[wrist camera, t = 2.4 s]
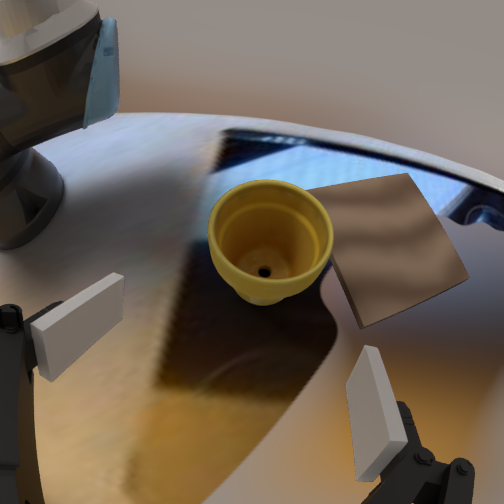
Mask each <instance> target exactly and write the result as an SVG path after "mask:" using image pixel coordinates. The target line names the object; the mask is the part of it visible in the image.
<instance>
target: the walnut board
mask: <svg viewBox="0 0 504 504" xmlns="http://www.w3.org/2000/svg"><path fill="white" fill-rule="evenodd" d="M305 191H307V192H309V193H310V194H311V195H312V196H314V197H315V198H316V199H317V200H318V201H319V202H320V203H321V204H322V205H323V207H324V208H325V210H326V211H327V213H328V215H329V217H330V219H331V222H332V225H333V230H334V244H333V249H332V252H331V255H330V257H329V259H330V261H331V263H332V265H333V268H334V270H335V272H336V274H337V276H338V279H339V281H340V283H341V286H342V288H343V290H344V292H345V295H346V297H347V299H348V302H349V304H350V306H351V309H352V311H353V314H354V316H355V318H356V321H357V323H358V326H359V328H360V329H363V328H365V327H368V326H370V325H373V324H375V323H377V322H380V321H382V320H384V319H387V318H389V317H391V316H394V315H396V314H398V313H400V312H403V311H405V310H407V309H409V308H411V307H414V306H416V305H418V304H420V303H422V302H424V301H426V300H428V299H431V298H432V297H435V296H437V295H439V294H441V293H443V292H445V291H447V290H449V289H450V288H453V287H454V286H456V285H458V284H460V283H462V282H464V281H465V280H467V279H468V278H469V275H468V273H467V271H466V269H465V267H464V265H463V263H462V261H461V259H460V257H459V256H458V254H457V252H456V250H455V248H454V246H453V245H452V243H451V241H450V239H449V237H448V235H447V234H446V232H445V230H444V229H443V227H442V225H441V223H440V222H439V220H438V219H437V217H436V215H435V214H434V212H433V210H432V209H431V207H430V206H429V204H428V202H427V201H426V199H425V198H424V196H423V195H422V193H421V192H420V190H419V189H418V187H417V186H416V184H415V183H414V181H413V180H412V178H411V177H410V176H409V174H408V173H403V174H396V175H390V176H384V177H377V178H371V179H365V180H359V181H354V182H348V183H342V184H336V185H331V186H326V187H320V188H315V189H310V190H305Z"/></svg>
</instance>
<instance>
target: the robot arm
mask: <svg viewBox="0 0 504 504" xmlns="http://www.w3.org/2000/svg"><path fill="white" fill-rule="evenodd" d="M119 102H120V76H119V47H118V30H117V22H116V20H115V19H114V18H104V19H103V20H101V19H100V15H99V10H98V6H97V5H96V4H94V3H92V2H89V1H87V0H0V248H2V249H12V248H16V247H19V246H21V245H23V244H25V243H27V242H28V241H30V240H31V239H32V238H34V237H35V236H36V235H37V234H38V233H39V232H40V231H41V230H42V229H43V228H44V227H45V226H46V225H47V224H48V222H49V221H50V220H51V218H52V217H53V215H54V214H55V212H56V210H57V208H58V206H59V203H60V201H61V198H62V193H63V181H62V178H61V176H60V174H59V172H58V171H57V169H56V167H55V166H54V165H53V164H52V163H51V162H50V161H48V160H47V159H46V158H45V157H43V156H42V155H41V154H40V153H39V152H37V151H36V150H35V149H34V148H32V147H33V146H35V145H38V144H40V143H43V142H45V141H48V140H50V139H53V138H55V137H58V136H61V135H63V134H66V133H69V132H72V131H75V130H77V129H80V128H83V129H86V128H87V127H88V126H89V125H92V124H94V123H97V122H100V121H103V120H106V119H108V118H110V117H111V116H113V115H114V114H115V113H116V111H117V109H118V107H119ZM124 278H125V276H122V275H119V274H116V273H114V272H113V273H111V274H110V275H108V276H106V277H105V278H103V279H101V280H100V281H98V282H96V283H95V284H93V285H91V286H90V287H88V288H86V289H85V290H83V291H81V292H80V293H78V294H76V295H75V296H73V297H72V298H70V299H68V300H67V301H65V302H63V301H59V302H55V303H52V304H50V305H49V306H47V307H46V308H45V309H42V310H41V311H40V312H37V313H36V314H34V315H33V316H31V317H29V318H28V319H26V320H25V321H23V315H22V309H21V308H20V307H19V306H17V305H14V304H5V305H2V306H0V504H45V502H44V498H43V492H42V487H41V481H40V474H39V467H38V459H37V450H36V439H35V425H34V373H33V368H34V367H36V366H37V365H38V369H39V374H40V375H41V376H42V377H44V378H45V379H47V380H49V381H50V382H53V381H54V380H55V379H56V378H57V377H58V376H59V375H60V374H62V373H63V372H64V371H65V370H66V369H67V368H68V367H69V366H70V365H71V364H73V363H74V362H75V361H76V360H77V359H78V358H79V357H80V356H81V355H82V354H84V353H85V352H86V351H87V350H88V349H89V348H90V347H91V346H92V345H94V344H95V343H96V342H97V341H98V340H99V339H100V338H101V337H103V336H104V335H105V334H106V333H107V332H108V331H109V330H110V329H112V328H113V327H114V326H115V325H116V324H117V323H118V322H120V321H121V320H122V312H123V292H124ZM345 387H346V394H347V402H348V409H349V417H350V424H351V433H352V442H353V452H354V463H355V474H356V481H362V482H373V481H374V480H375V479H376V478H377V477H378V476H379V475H380V477H381V482H380V483H379V485H377V486H376V487H375V488H374V489H373V490H372V491H371V492H370V493H369V495H368V497H367V498H366V499H365V500H364V501H363V502H362V503H361V504H411V503H414V504H472V497H473V488H474V478H475V470H474V467H473V465H472V464H471V463H470V462H469V461H468V460H466V459H464V458H456V459H454V460H453V461H452V462H451V463H450V464H445V463H441V462H438V461H436V460H435V457H434V455H433V453H432V452H430V450H428V449H427V448H424V447H422V445H421V442H420V439H419V436H418V433H417V430H416V426H414V421H413V419H412V415H411V412H410V409H409V408H408V407H407V406H406V404H405V403H404V402H401V401H396V400H395V397H394V394H393V391H392V388H391V385H390V382H389V379H388V376H387V373H386V370H385V367H384V364H383V361H382V359H381V356H380V353H379V350H378V348H376V347H372V346H367V345H364V347H363V349H362V352H361V354H360V356H359V358H358V360H357V362H356V364H355V366H354V368H353V370H352V372H351V375H350V376H349V378H348V380H347V382H346V384H345Z"/></svg>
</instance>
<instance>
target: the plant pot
mask: <svg viewBox="0 0 504 504" xmlns="http://www.w3.org/2000/svg"><path fill="white" fill-rule="evenodd" d="M208 241H209V247H210V253H211V257H212V260H213V263H214V265H215V267H216V269H217V271H218V272H219V274H220V275H221V277H222V278H223V279H224V280H225V281H226V282H227V283H228V284H229V285H231V286H232V287H233V288H234V289H235V291H236V292H237V293H238V295H239V296H240V297H241V298H243V299H244V300H246V301H247V302H249V303H252V304H255V305H262V306H265V305H271V304H275V303H277V302H279V301H281V300H282V299H284V298H285V297H289V296H292V295H295V294H297V293H299V292H301V291H303V290H305V289H306V288H307V287H309V286H310V285H311V284H312V283H313V282H314V281H315V280H316V278H317V277H318V276H319V274H320V273H321V271H322V270H323V268H324V267H325V265H326V263H327V261H328V259H329V257H330V255H331V252H332V249H333V244H334V230H333V225H332V222H331V219H330V217H329V215H328V213H327V211H326V210H325V208H324V207H323V205H322V204H321V203H320V202H319V201H318V200H317V199H316V198H315V197H314V196H312V195H311V194H310V193H309V192H307V191H305V190H304V189H302V188H300V187H298V186H296V185H293V184H290V183H287V182H283V181H278V180H255V181H250V182H246V183H243V184H241V185H238V186H236V187H234V188H233V189H231V190H229V191H228V192H227V193H225V194H224V195H223V196H222V197H221V198H220V199H219V200H218V202H217V203H216V204H215V206H214V207H213V209H212V211H211V214H210V217H209V221H208ZM260 269H268V270H269V271H270V276H269V277H266V278H263V277H261V276H260V275H259V273H258V272H259V270H260Z"/></svg>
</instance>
